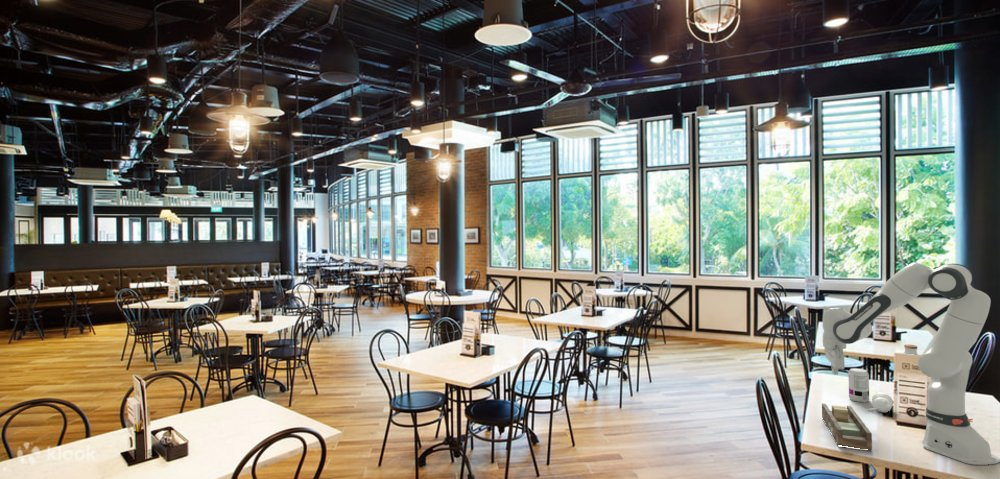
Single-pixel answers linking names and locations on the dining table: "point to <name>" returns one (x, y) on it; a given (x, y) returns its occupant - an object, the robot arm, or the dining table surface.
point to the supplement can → (858, 385)
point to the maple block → (840, 412)
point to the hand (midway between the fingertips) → (834, 373)
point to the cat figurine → (881, 402)
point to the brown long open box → (848, 429)
